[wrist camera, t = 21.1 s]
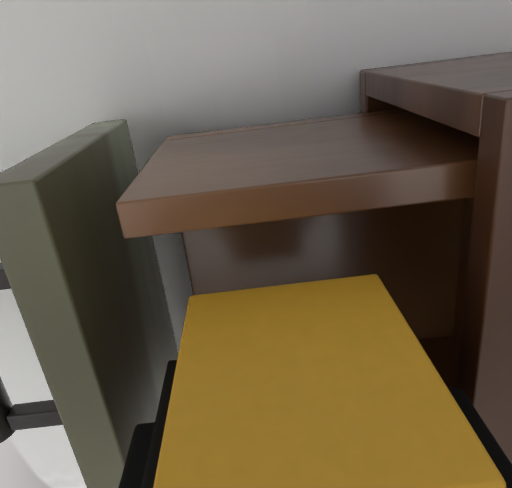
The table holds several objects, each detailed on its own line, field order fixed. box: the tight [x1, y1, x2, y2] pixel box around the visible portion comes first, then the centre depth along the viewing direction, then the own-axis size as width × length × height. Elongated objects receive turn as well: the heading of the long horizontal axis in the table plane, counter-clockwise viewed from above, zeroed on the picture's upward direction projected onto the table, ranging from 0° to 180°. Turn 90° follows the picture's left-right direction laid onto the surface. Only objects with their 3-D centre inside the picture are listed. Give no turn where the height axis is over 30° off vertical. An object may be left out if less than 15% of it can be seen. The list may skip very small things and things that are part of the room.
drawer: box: [0, 108, 480, 488], centre depth 14 cm, size 18×11×8 cm, turn 96°
